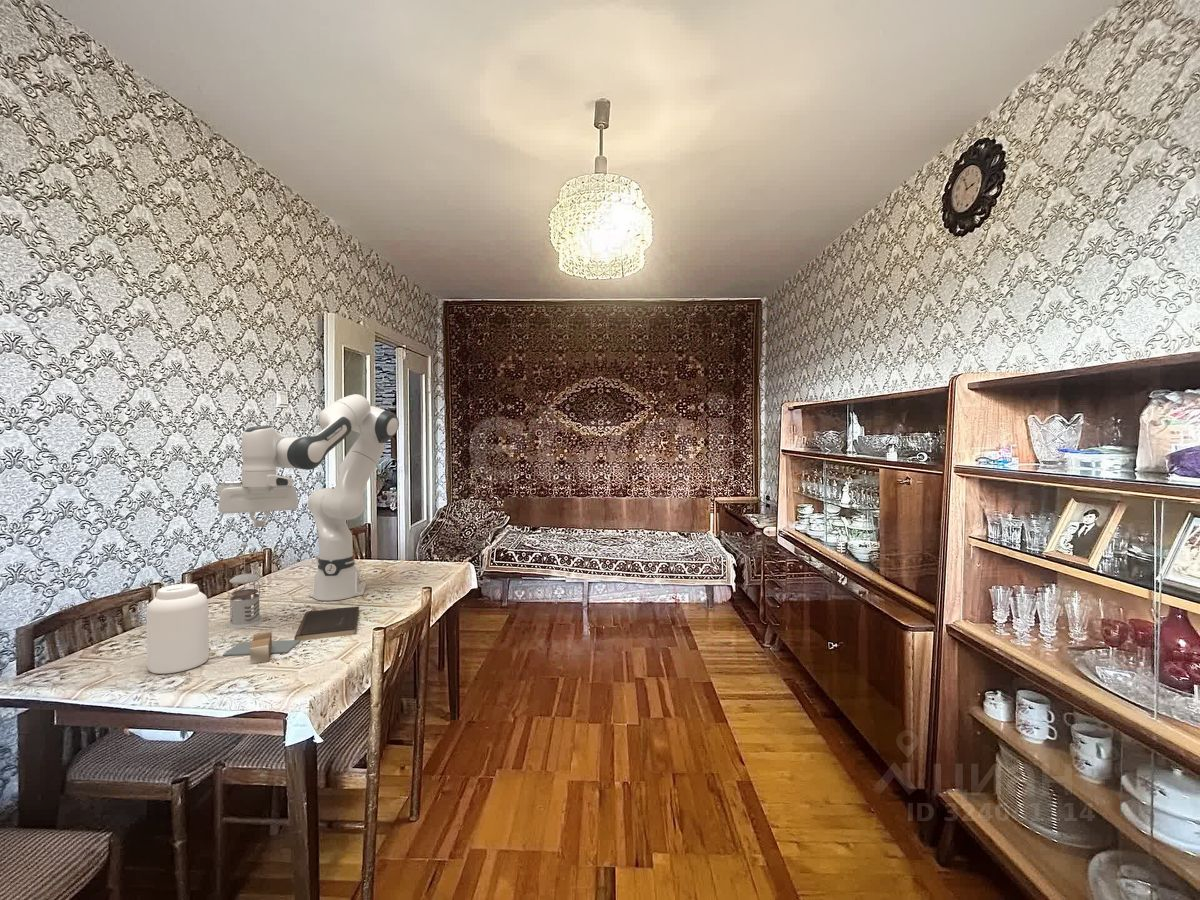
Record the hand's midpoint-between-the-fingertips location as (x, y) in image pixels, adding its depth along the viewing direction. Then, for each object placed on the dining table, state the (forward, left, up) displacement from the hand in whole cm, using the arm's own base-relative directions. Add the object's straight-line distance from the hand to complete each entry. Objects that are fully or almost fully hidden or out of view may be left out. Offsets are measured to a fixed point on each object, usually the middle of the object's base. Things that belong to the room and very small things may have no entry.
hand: (259, 526), depth 167 cm
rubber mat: (+15, +7, -31) cm, 35 cm away
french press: (-9, -8, -31) cm, 34 cm away
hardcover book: (-3, +18, -32) cm, 37 cm away
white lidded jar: (+24, -9, -31) cm, 40 cm away
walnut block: (+16, +7, -28) cm, 33 cm away
